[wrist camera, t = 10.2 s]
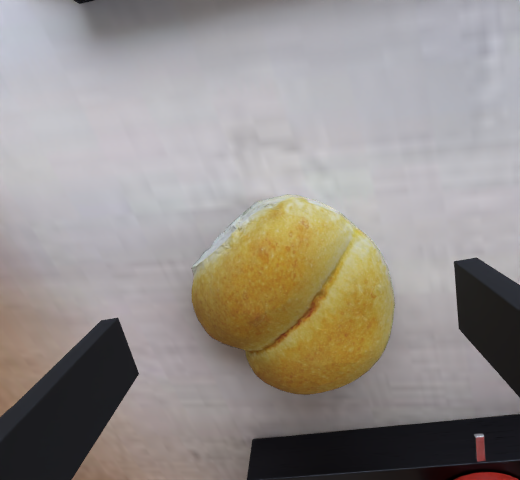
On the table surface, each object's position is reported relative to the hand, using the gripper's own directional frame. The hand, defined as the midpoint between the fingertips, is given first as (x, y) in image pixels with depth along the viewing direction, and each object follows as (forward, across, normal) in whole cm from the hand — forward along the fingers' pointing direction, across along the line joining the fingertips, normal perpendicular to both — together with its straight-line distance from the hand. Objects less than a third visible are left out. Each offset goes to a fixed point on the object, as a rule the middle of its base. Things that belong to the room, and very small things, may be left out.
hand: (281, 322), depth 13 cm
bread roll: (+4, 0, 0) cm, 4 cm away
